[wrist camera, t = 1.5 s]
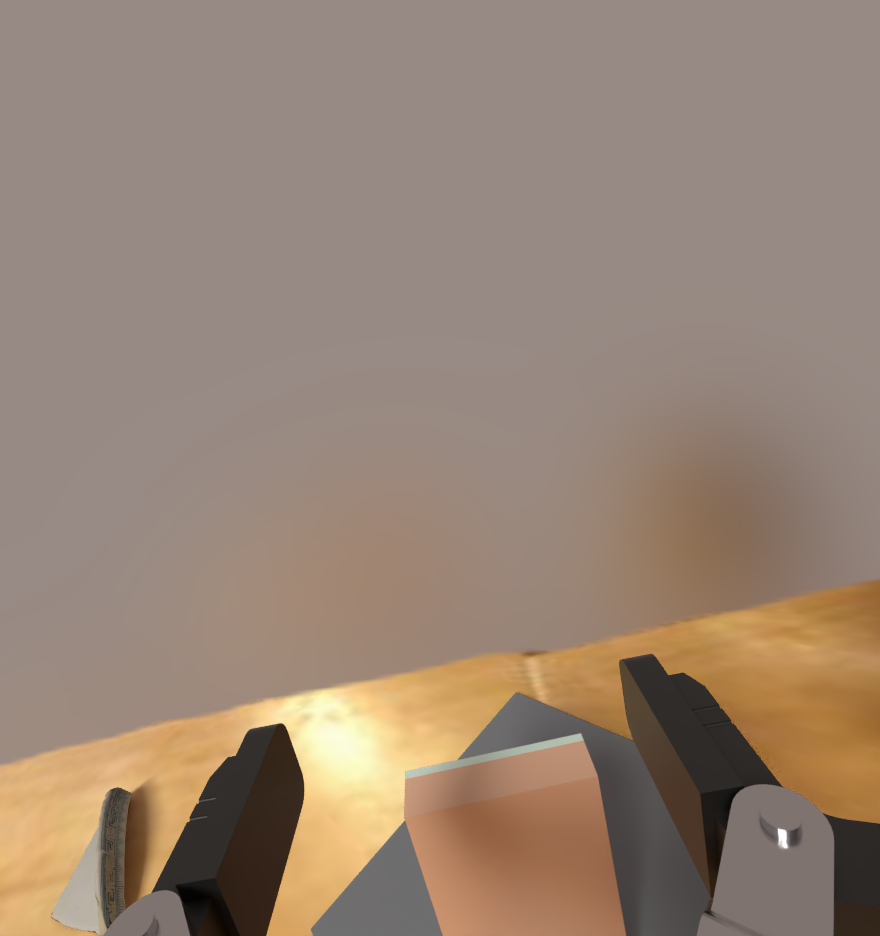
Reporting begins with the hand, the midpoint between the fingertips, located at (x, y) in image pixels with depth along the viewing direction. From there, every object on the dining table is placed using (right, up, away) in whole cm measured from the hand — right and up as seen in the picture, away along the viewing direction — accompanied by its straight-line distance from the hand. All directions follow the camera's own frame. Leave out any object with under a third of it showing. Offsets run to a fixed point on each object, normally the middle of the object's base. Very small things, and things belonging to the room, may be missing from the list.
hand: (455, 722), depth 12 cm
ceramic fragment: (-25, -25, +27) cm, 44 cm away
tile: (+5, -20, +14) cm, 25 cm away
